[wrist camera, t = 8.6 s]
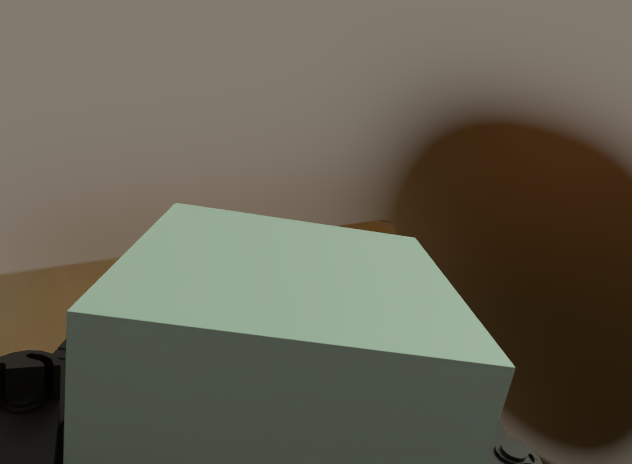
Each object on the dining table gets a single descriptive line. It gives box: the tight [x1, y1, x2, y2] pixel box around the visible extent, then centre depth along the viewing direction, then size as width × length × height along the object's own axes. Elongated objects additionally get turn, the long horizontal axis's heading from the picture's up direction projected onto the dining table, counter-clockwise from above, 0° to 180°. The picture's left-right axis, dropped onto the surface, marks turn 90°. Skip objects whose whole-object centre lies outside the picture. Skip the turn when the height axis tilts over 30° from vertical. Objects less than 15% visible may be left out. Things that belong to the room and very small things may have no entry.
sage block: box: [63, 203, 515, 464], centre depth 12 cm, size 7×7×10 cm
